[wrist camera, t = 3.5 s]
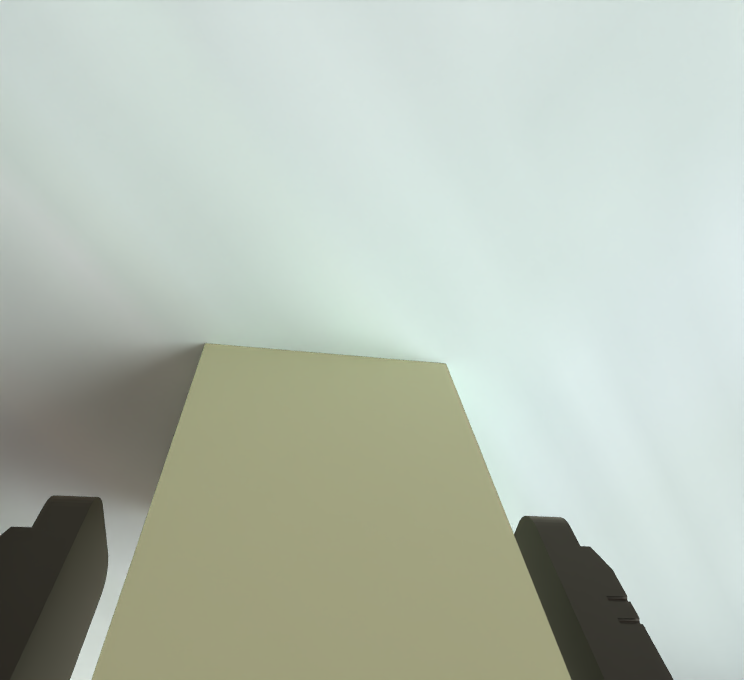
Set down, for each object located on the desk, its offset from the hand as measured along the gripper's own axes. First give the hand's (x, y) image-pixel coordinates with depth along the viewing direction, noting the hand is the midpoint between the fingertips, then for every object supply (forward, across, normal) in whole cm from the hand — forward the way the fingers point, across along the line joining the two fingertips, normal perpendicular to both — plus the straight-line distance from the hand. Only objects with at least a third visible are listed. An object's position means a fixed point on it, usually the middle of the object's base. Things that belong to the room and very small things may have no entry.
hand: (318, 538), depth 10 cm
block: (+3, 0, 0) cm, 3 cm away
